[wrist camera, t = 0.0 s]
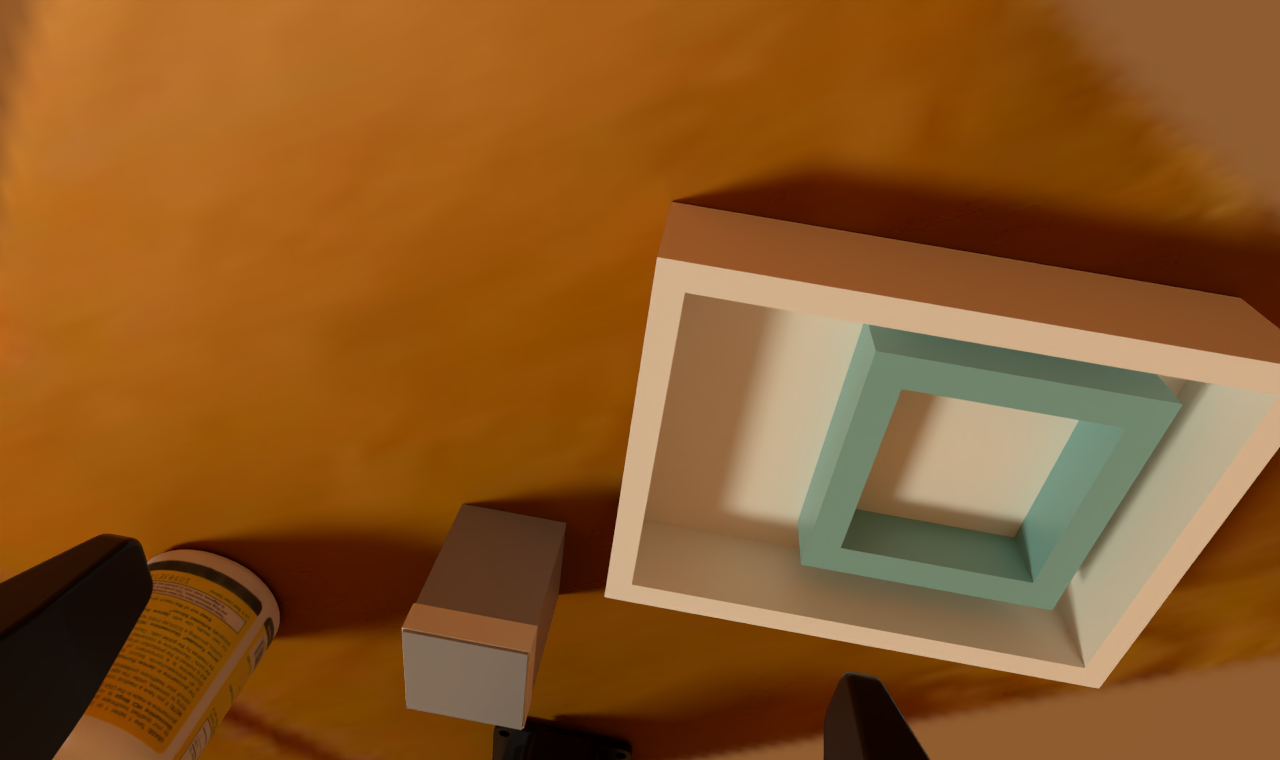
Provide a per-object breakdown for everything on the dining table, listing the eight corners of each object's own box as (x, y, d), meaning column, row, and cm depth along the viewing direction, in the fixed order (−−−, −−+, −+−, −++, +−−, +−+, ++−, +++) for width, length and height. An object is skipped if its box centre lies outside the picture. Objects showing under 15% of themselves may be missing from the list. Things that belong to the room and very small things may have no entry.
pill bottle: (120, 545, 32) (-131, 804, 23) (248, 539, 31) (37, 809, 22) (189, 643, 36) (-8, 905, 26) (307, 640, 34) (145, 914, 25)
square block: (559, 595, 31) (523, 731, 26) (461, 577, 31) (405, 708, 26) (567, 521, 29) (529, 654, 24) (461, 502, 29) (400, 630, 24)
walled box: (1056, 592, 28) (1099, 688, 24) (621, 513, 28) (604, 596, 25) (1241, 297, 21) (1334, 373, 18) (671, 201, 22) (657, 257, 18)
